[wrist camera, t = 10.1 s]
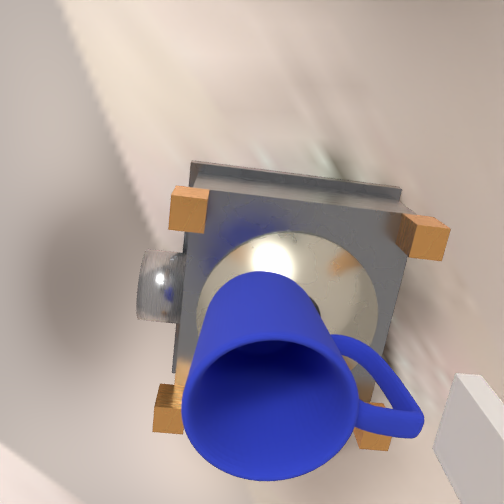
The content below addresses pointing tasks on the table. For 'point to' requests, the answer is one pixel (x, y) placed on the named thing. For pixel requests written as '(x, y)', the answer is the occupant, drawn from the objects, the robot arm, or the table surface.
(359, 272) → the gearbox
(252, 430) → the mug
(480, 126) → the table surface
